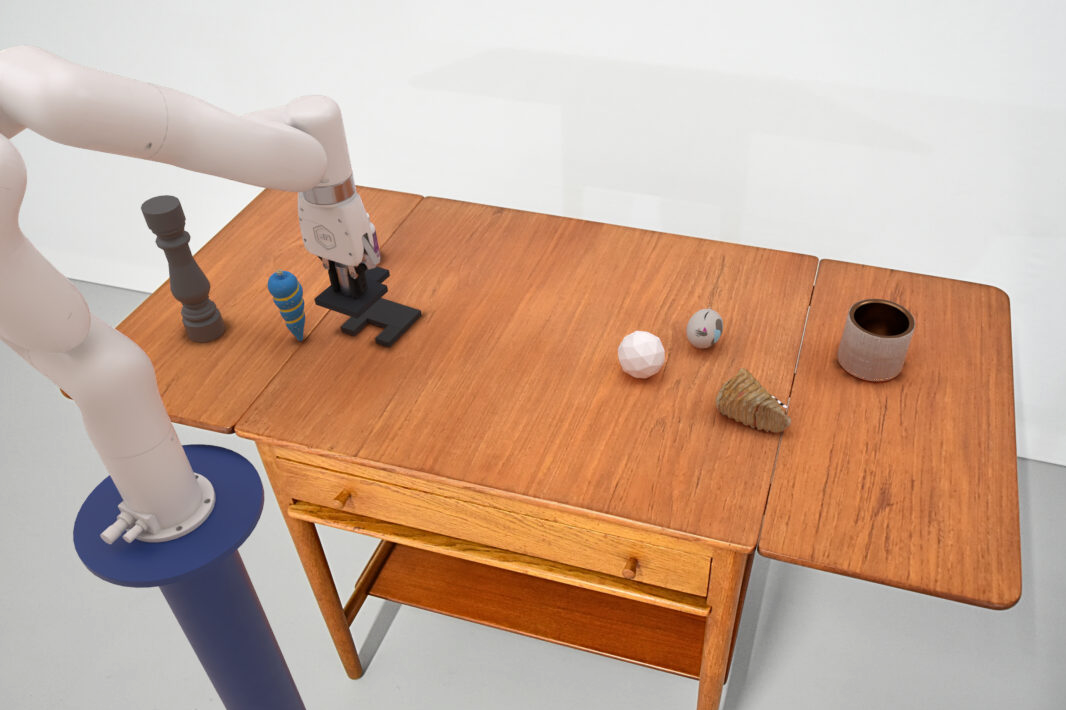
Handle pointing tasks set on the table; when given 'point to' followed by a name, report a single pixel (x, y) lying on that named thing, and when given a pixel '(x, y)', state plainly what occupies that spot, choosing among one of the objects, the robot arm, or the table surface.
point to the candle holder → (183, 269)
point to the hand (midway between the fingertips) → (350, 289)
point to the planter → (876, 339)
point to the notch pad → (384, 321)
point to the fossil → (751, 403)
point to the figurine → (704, 328)
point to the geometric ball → (641, 354)
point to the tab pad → (359, 302)
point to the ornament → (288, 300)
